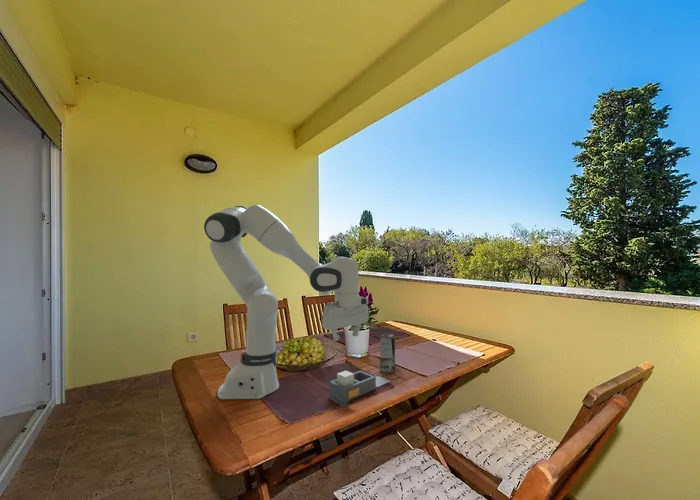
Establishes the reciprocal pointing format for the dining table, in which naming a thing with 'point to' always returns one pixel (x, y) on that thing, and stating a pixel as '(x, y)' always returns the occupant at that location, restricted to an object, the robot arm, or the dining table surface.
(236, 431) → the dining table surface
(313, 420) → the dining table surface
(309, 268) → the robot arm
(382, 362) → the coffee box
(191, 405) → the dining table surface
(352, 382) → the peg
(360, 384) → the slot rack
